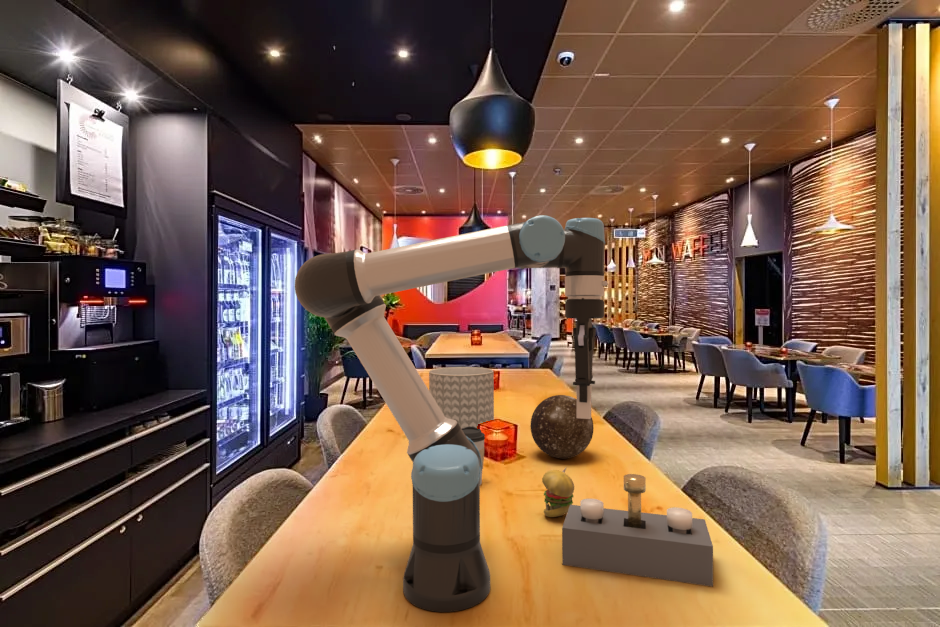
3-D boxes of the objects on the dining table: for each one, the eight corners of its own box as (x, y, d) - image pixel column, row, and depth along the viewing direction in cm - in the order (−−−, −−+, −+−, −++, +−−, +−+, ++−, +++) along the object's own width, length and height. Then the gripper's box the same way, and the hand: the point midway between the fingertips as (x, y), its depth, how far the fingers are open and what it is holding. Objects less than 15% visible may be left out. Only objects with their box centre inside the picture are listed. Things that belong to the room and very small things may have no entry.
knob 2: (693, 570, 95) (693, 517, 95) (667, 567, 96) (667, 515, 96) (691, 559, 99) (691, 508, 99) (666, 556, 100) (666, 506, 100)
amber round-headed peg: (645, 533, 98) (645, 481, 97) (623, 530, 99) (623, 479, 99) (645, 524, 101) (645, 475, 101) (624, 522, 103) (623, 473, 102)
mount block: (713, 586, 90) (712, 546, 90) (562, 564, 98) (562, 527, 98) (704, 555, 102) (704, 519, 102) (570, 537, 110) (570, 504, 110)
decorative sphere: (606, 462, 162) (606, 398, 162) (550, 470, 155) (550, 403, 155) (571, 446, 181) (571, 388, 181) (519, 452, 174) (519, 392, 173)
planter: (419, 437, 195) (419, 373, 194) (442, 423, 219) (442, 366, 218) (484, 442, 187) (483, 375, 187) (500, 426, 211) (500, 367, 211)
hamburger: (553, 508, 126) (552, 458, 126) (580, 515, 121) (580, 464, 121) (536, 518, 120) (535, 466, 120) (564, 526, 115) (563, 472, 115)
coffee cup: (482, 489, 139) (481, 433, 139) (449, 487, 141) (448, 432, 140) (487, 478, 148) (487, 426, 147) (456, 476, 150) (456, 424, 149)
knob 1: (602, 558, 100) (602, 508, 100) (579, 555, 101) (579, 505, 101) (604, 548, 104) (604, 499, 104) (581, 545, 105) (581, 497, 105)
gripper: (601, 297, 95) (600, 426, 95) (606, 298, 107) (605, 412, 108) (560, 297, 97) (559, 423, 98) (569, 298, 110) (569, 410, 110)
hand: (583, 417), depth 103 cm, fingers closed
